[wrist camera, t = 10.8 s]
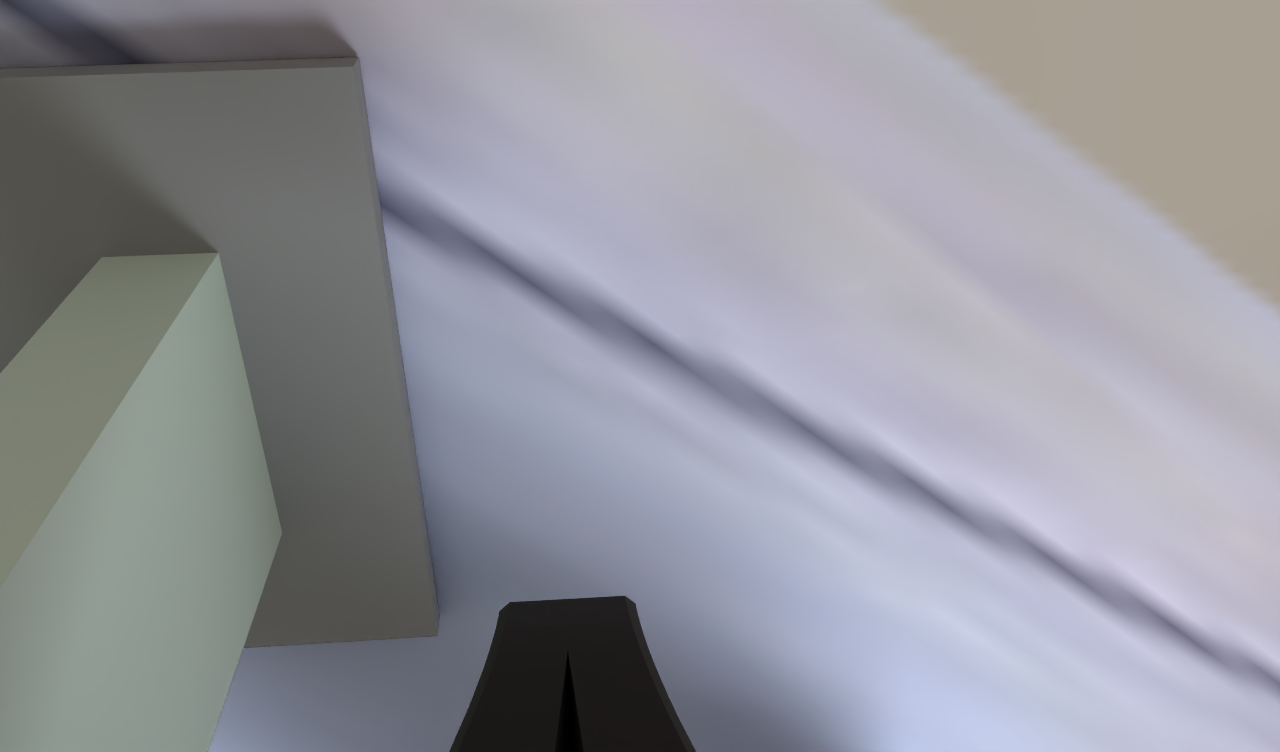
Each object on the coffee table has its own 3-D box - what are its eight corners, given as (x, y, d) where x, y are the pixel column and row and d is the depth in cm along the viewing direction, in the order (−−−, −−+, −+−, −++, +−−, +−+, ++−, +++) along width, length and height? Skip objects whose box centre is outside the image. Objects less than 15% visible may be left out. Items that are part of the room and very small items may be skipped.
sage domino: (182, 538, 18) (-106, 1163, 10) (101, 256, 15) (-372, 800, 7) (281, 532, 18) (74, 1147, 10) (218, 252, 15) (-128, 785, 7)
